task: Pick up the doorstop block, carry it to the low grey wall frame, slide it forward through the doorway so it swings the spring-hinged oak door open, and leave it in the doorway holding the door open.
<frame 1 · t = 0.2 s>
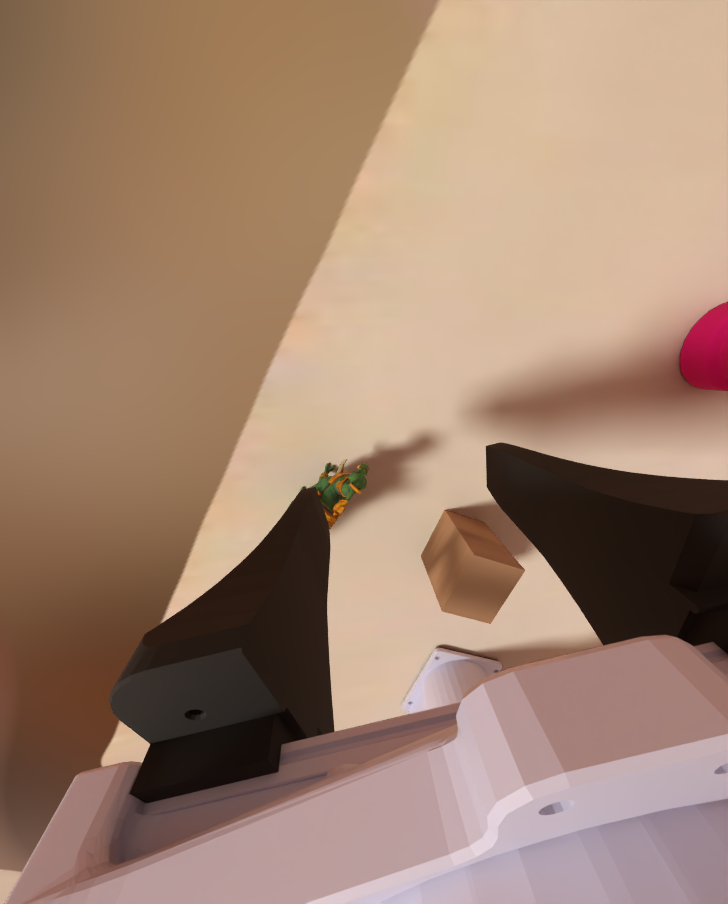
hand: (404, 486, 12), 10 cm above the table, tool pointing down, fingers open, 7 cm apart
figurine: (313, 495, 23), on the table
doorstop block: (452, 539, 25), on the table
pepper mill: (715, 347, 22), on the table
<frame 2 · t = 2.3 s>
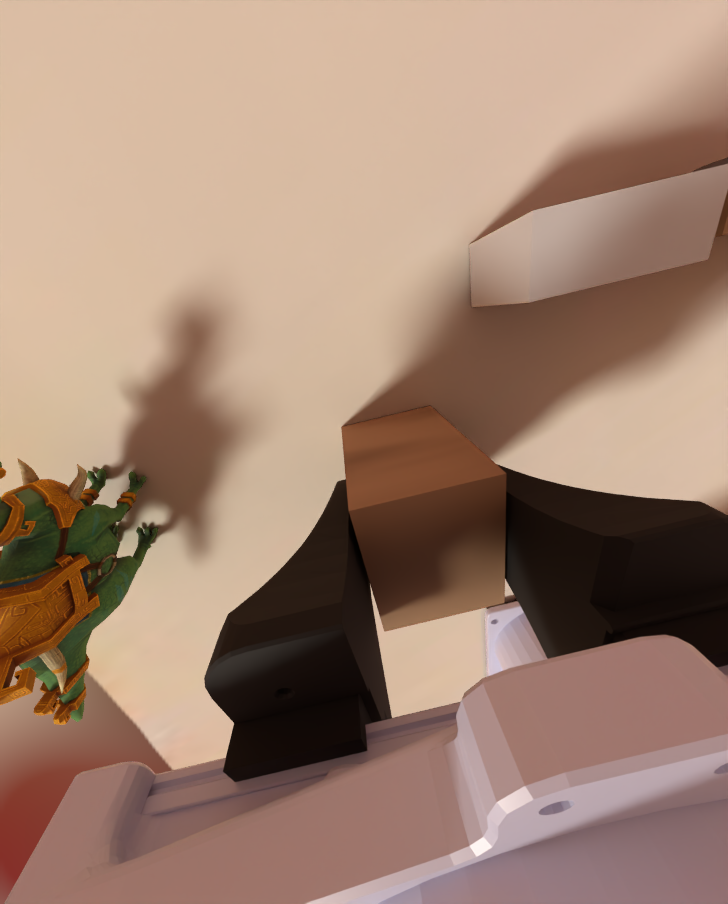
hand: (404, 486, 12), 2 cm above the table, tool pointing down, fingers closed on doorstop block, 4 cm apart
wall frame: (708, 220, 10), on the table
figurine: (133, 525, 14), on the table
doorstop block: (395, 464, 13), on the table, touching gripper
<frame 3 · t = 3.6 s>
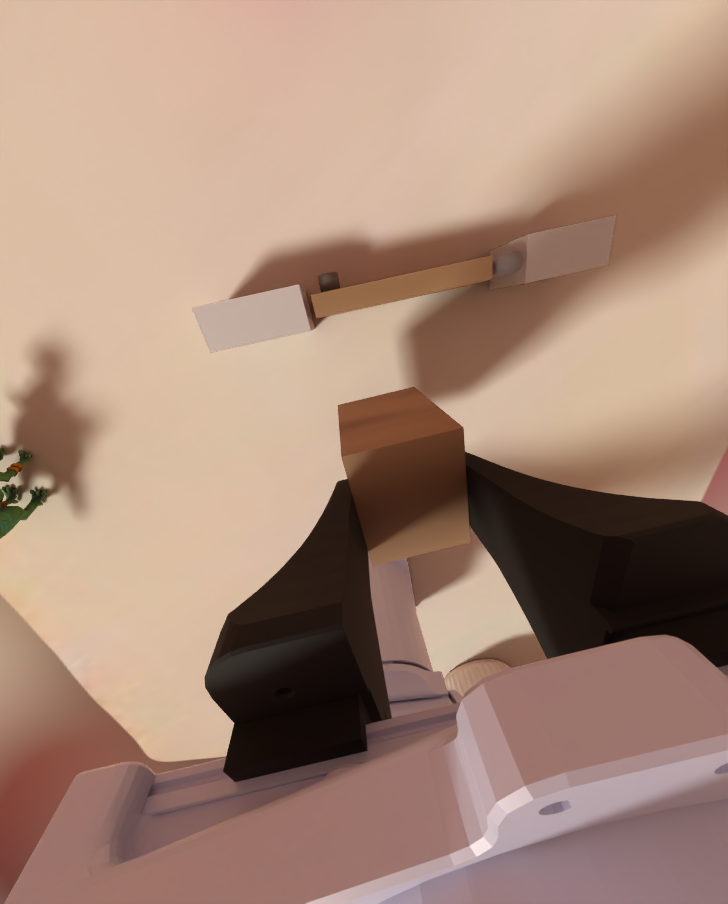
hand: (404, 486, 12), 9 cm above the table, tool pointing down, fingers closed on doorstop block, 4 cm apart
wall frame: (376, 295, 16), on the table
figurine: (29, 488, 20), on the table
door: (395, 281, 15), point 2 cm above the table, hinge at 0.0°
doorstop block: (384, 439, 15), point 5 cm above the table, touching gripper
ramekin: (474, 676, 37), on the table
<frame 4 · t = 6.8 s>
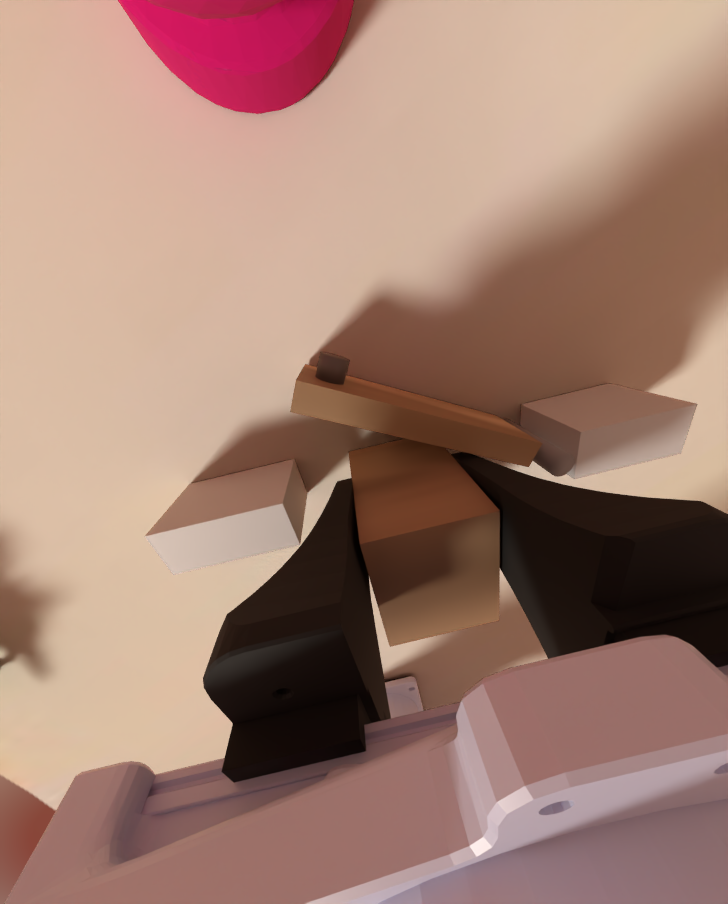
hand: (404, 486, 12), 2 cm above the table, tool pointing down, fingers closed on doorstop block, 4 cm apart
wall frame: (382, 457, 13), on the table
door: (417, 404, 11), point 2 cm above the table, hinge at 28.2°, touching gripper
doorstop block: (398, 485, 14), on the table, touching gripper
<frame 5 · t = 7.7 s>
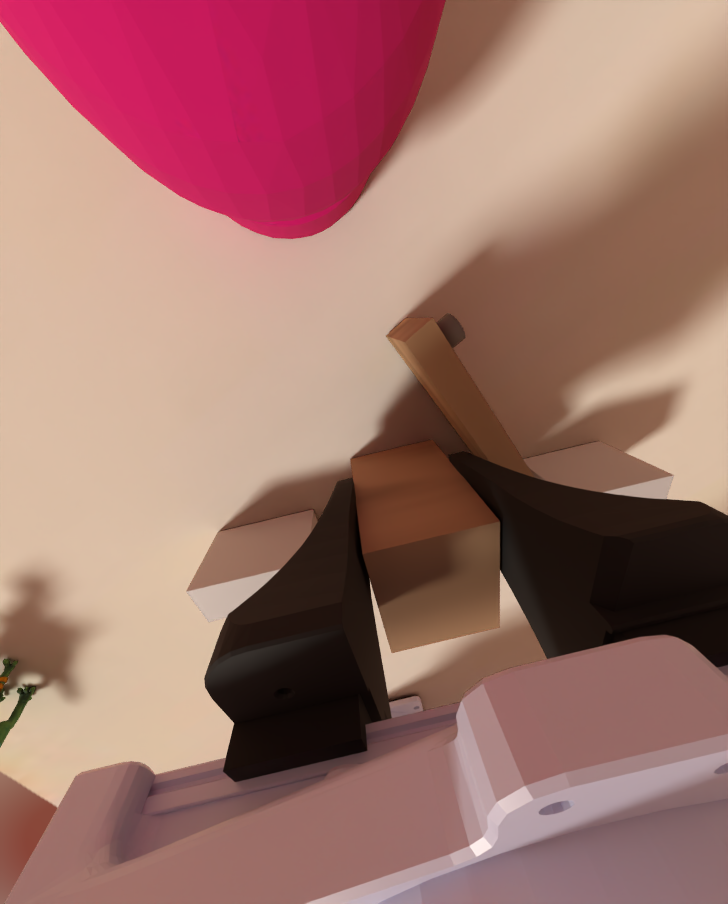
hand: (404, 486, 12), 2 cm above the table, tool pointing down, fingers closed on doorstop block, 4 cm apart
wall frame: (392, 506, 15), on the table
figurine: (16, 683, 18), on the table
door: (478, 414, 11), point 2 cm above the table, hinge at 62.3°
doorstop block: (399, 491, 14), on the table, touching gripper
pepper mill: (276, 114, 8), on the table
when the fingers open (2 cm above the table, at t = 9.3 s): doorstop block stays where it is, on the table.
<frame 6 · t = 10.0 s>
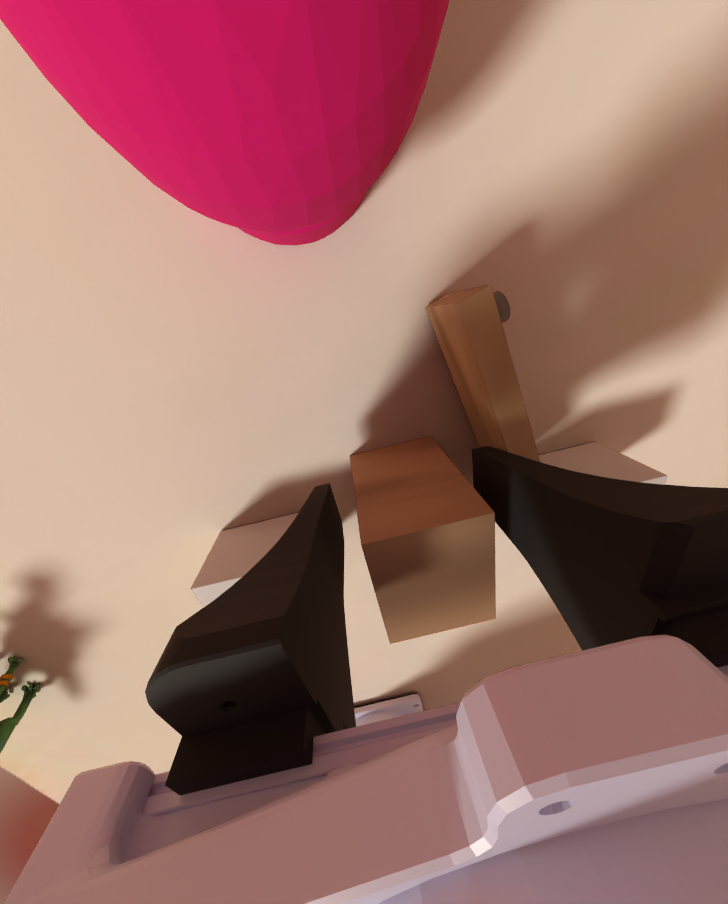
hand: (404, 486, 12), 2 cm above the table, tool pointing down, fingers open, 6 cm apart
wall frame: (392, 506, 15), on the table
figurine: (21, 681, 18), on the table
door: (499, 402, 11), point 2 cm above the table, hinge at 73.6°, touching gripper
doorstop block: (398, 487, 15), on the table
pepper mill: (279, 125, 9), on the table
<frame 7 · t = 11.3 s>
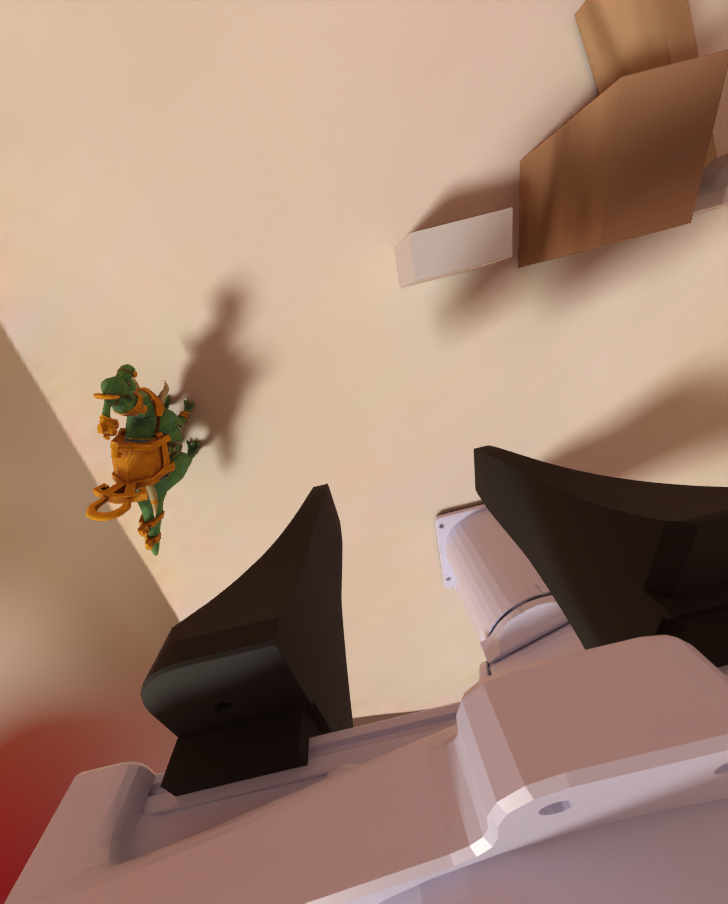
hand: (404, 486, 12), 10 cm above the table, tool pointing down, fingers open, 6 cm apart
wall frame: (543, 232, 17), on the table
figurine: (183, 440, 20), on the table
door: (654, 78, 13), point 2 cm above the table, hinge at 60.5°
doorstop block: (552, 209, 16), on the table
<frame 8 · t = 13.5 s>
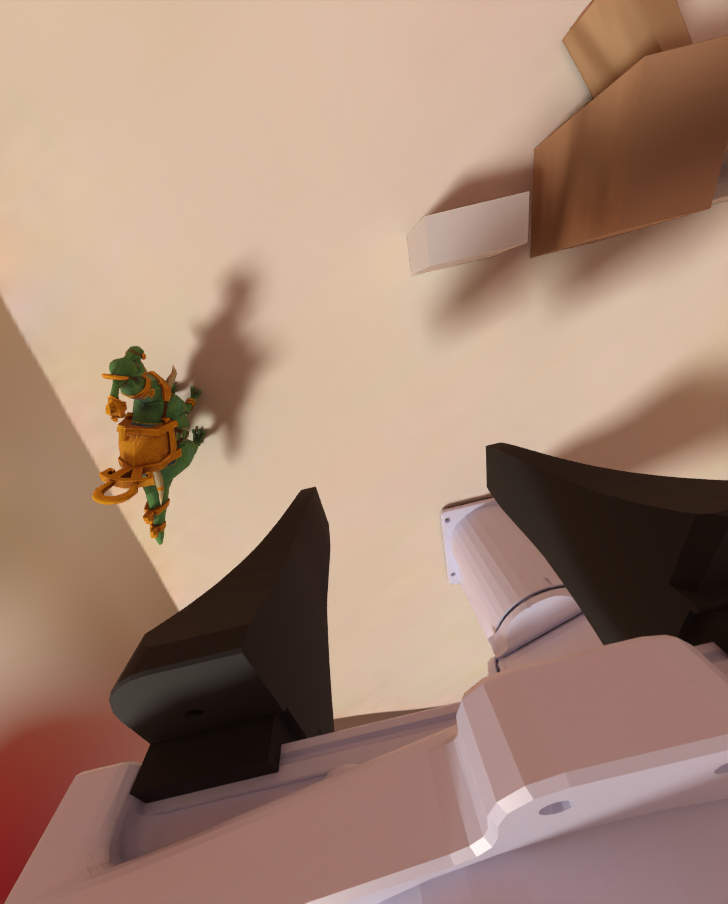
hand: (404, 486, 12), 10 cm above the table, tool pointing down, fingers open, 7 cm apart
wall frame: (557, 220, 17), on the table
figurine: (188, 429, 20), on the table
door: (654, 82, 13), point 2 cm above the table, hinge at 50.1°
doorstop block: (565, 198, 16), on the table
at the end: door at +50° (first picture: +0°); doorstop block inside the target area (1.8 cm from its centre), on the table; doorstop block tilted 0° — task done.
